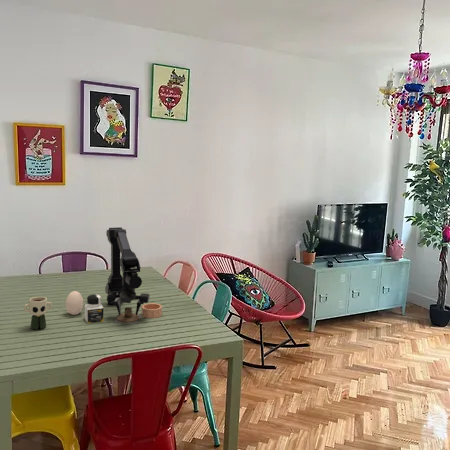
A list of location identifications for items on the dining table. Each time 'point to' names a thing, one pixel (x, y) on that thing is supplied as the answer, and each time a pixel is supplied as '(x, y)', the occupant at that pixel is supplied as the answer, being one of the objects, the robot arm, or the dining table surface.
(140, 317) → the mat
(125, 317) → the lid
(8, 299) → the dining table surface
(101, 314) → the white boxy piece
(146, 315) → the bowl
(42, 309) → the character mug
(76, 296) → the egg
